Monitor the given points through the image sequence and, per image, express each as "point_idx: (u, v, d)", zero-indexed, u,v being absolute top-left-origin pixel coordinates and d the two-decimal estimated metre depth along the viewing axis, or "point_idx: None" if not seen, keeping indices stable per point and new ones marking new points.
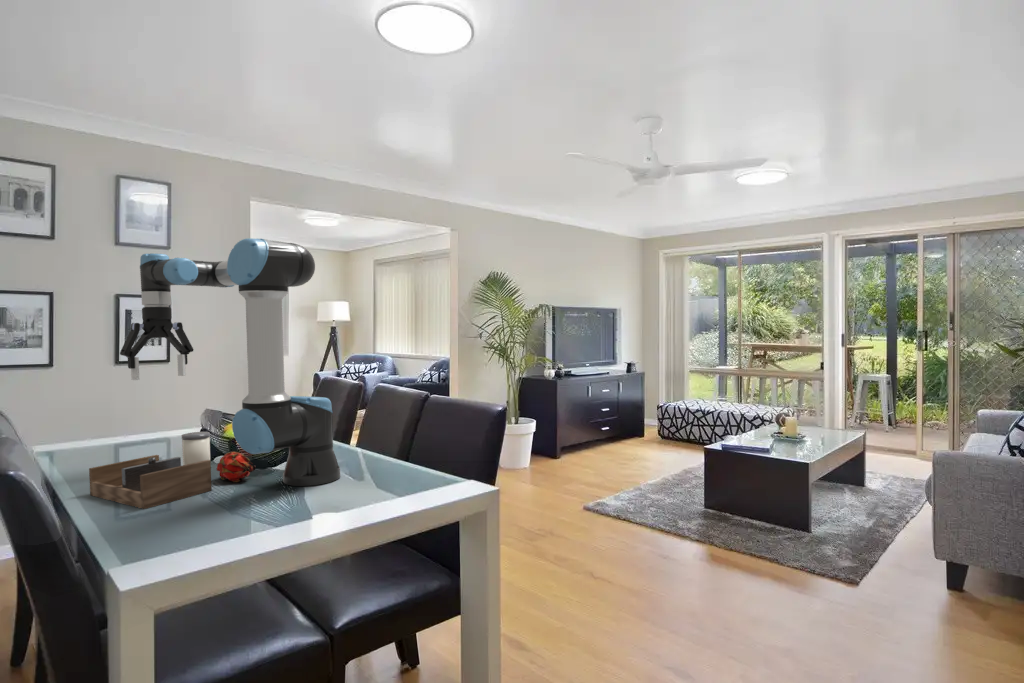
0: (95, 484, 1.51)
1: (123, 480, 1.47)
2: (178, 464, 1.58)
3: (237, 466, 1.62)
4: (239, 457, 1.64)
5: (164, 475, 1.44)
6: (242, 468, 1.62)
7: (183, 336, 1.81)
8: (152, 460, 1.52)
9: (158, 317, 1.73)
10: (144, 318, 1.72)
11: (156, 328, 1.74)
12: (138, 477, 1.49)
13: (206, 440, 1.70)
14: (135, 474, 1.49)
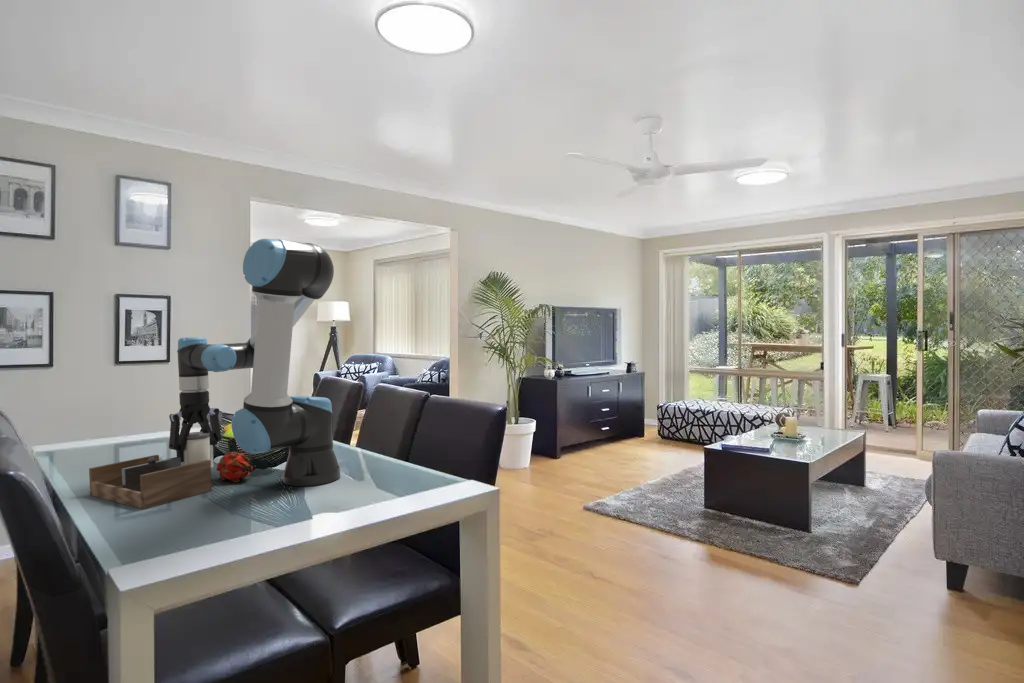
0: (95, 484, 1.51)
1: (123, 480, 1.47)
2: (178, 464, 1.58)
3: (237, 466, 1.62)
4: (239, 457, 1.64)
5: (164, 475, 1.44)
6: (242, 468, 1.62)
7: (216, 423, 1.75)
8: (152, 460, 1.52)
9: (196, 403, 1.67)
10: (182, 404, 1.67)
11: (194, 414, 1.68)
12: (138, 477, 1.49)
13: (206, 440, 1.70)
14: (135, 474, 1.49)
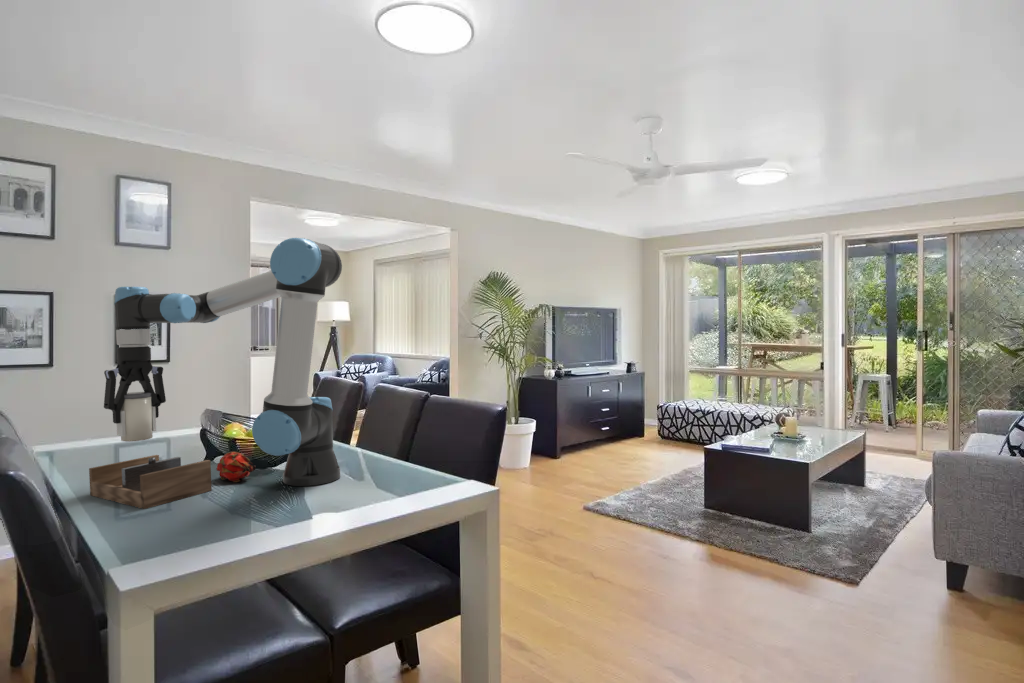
0: (95, 484, 1.51)
1: (123, 480, 1.47)
2: (178, 464, 1.58)
3: (237, 466, 1.62)
4: (239, 457, 1.64)
5: (164, 475, 1.44)
6: (242, 468, 1.62)
7: (159, 383, 1.60)
8: (152, 460, 1.52)
9: (135, 359, 1.52)
10: (119, 360, 1.52)
11: (133, 371, 1.53)
12: (138, 477, 1.49)
13: (146, 400, 1.55)
14: (135, 474, 1.49)
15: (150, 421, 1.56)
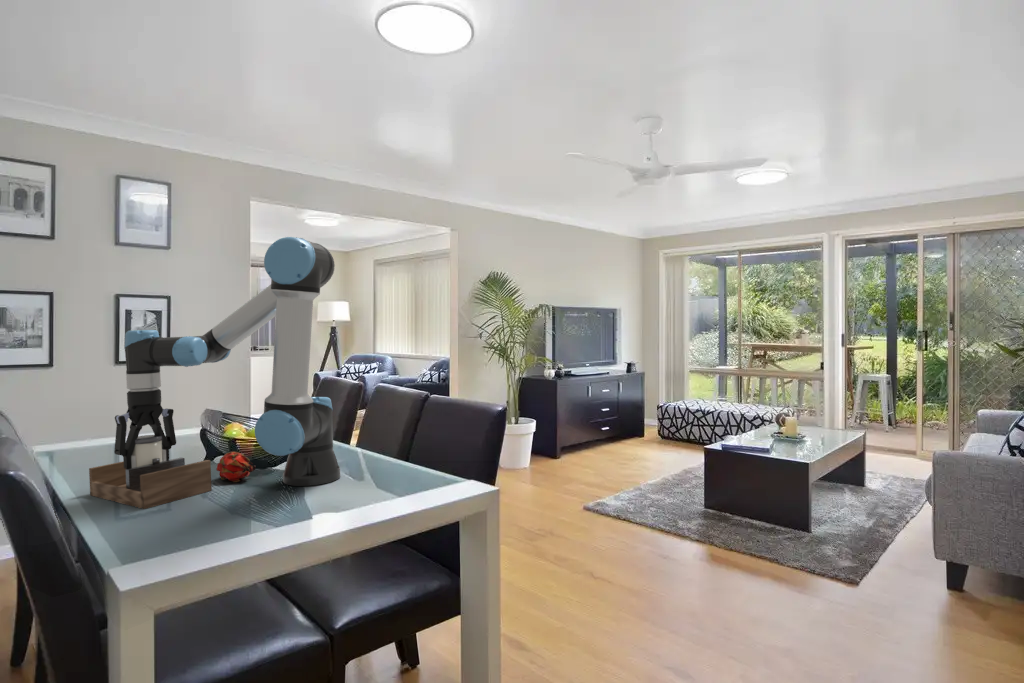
0: (95, 484, 1.51)
1: (127, 481, 1.46)
2: (182, 465, 1.57)
3: (237, 466, 1.62)
4: (239, 457, 1.64)
5: (164, 475, 1.44)
6: (242, 468, 1.62)
7: (170, 425, 1.58)
8: (156, 460, 1.51)
9: (145, 403, 1.50)
10: (129, 405, 1.50)
11: (143, 415, 1.51)
12: None
13: (157, 444, 1.53)
14: (139, 475, 1.48)
15: None
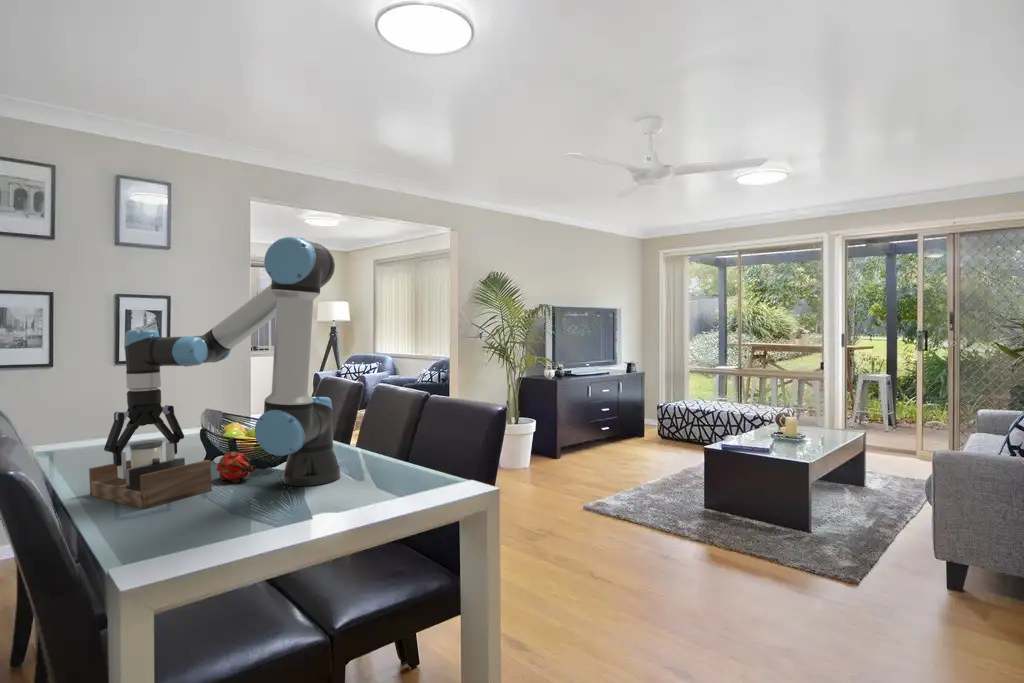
0: (95, 484, 1.51)
1: (127, 481, 1.46)
2: (182, 465, 1.57)
3: (237, 466, 1.62)
4: (239, 457, 1.64)
5: (164, 475, 1.44)
6: (242, 468, 1.62)
7: (173, 421, 1.59)
8: (156, 460, 1.51)
9: (145, 403, 1.50)
10: (129, 404, 1.50)
11: (143, 415, 1.51)
12: None
13: (157, 449, 1.53)
14: (139, 475, 1.48)
15: None
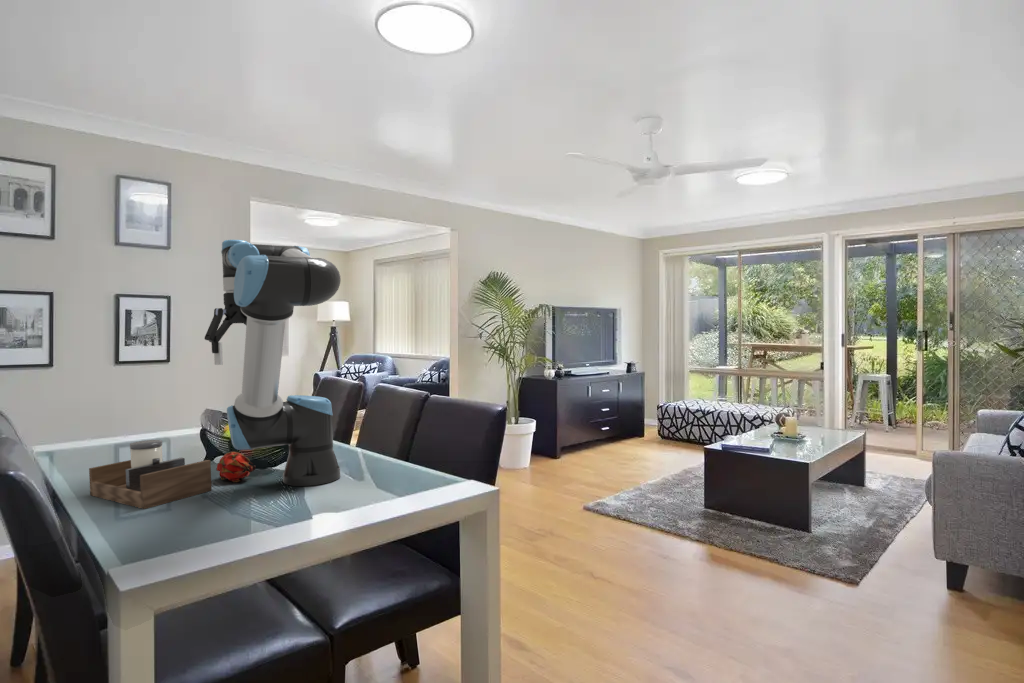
0: (95, 484, 1.51)
1: (127, 481, 1.46)
2: (182, 465, 1.57)
3: (237, 466, 1.62)
4: (239, 457, 1.64)
5: (164, 475, 1.44)
6: (242, 468, 1.62)
7: None
8: (156, 460, 1.51)
9: None
10: (226, 304, 1.74)
11: (237, 314, 1.76)
12: None
13: (157, 449, 1.53)
14: (139, 475, 1.48)
15: None
